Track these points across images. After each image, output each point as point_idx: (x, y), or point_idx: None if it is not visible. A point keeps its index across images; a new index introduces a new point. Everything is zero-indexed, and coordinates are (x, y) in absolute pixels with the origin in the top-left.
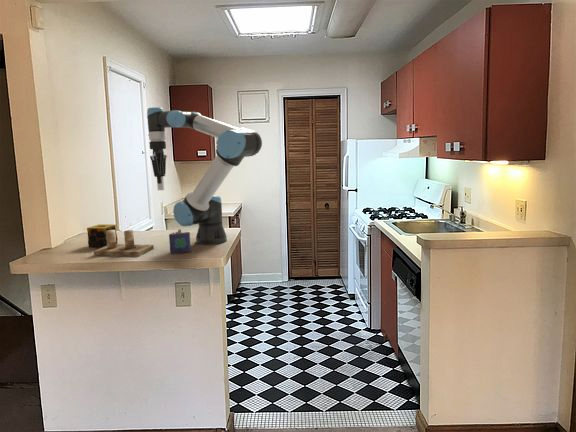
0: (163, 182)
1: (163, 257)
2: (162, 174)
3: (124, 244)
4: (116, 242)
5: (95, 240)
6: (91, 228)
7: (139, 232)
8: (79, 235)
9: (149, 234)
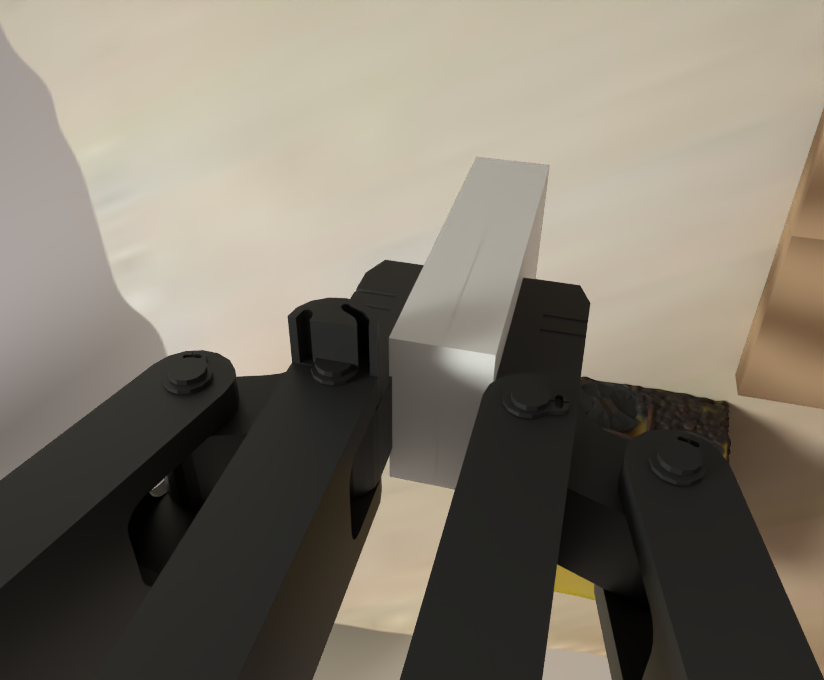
0: (453, 243)
1: None
2: (370, 404)
3: (774, 292)
4: (583, 386)
5: None
6: None
7: (182, 347)
8: None
9: (232, 257)
